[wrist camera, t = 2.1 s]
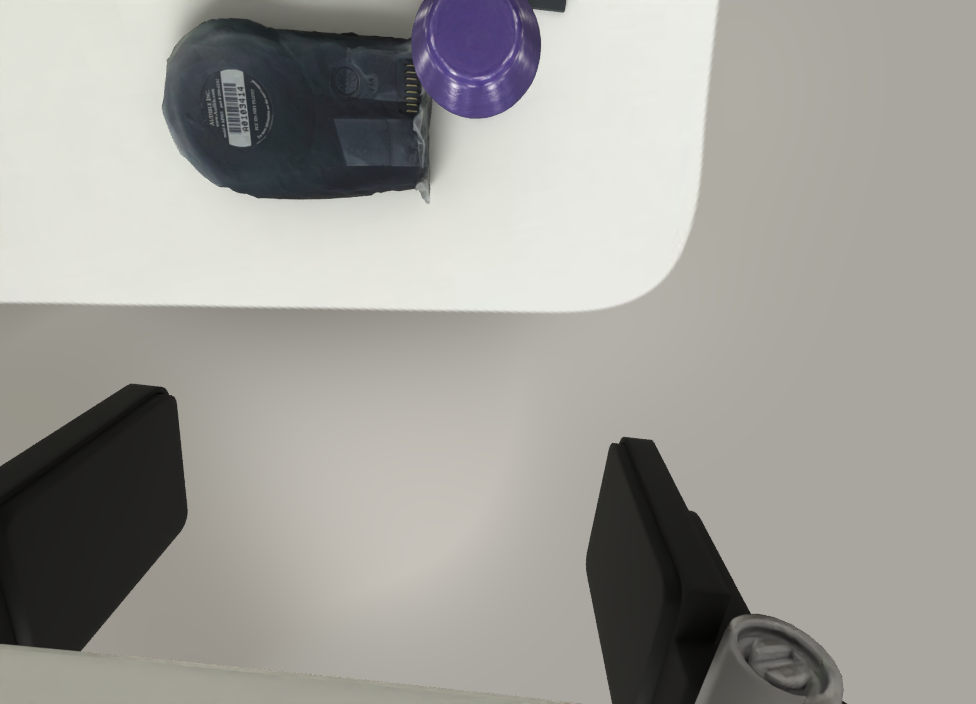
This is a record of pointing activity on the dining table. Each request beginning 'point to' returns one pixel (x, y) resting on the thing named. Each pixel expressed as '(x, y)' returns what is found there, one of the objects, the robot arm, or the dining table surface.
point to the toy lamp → (476, 53)
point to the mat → (548, 5)
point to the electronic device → (298, 111)
